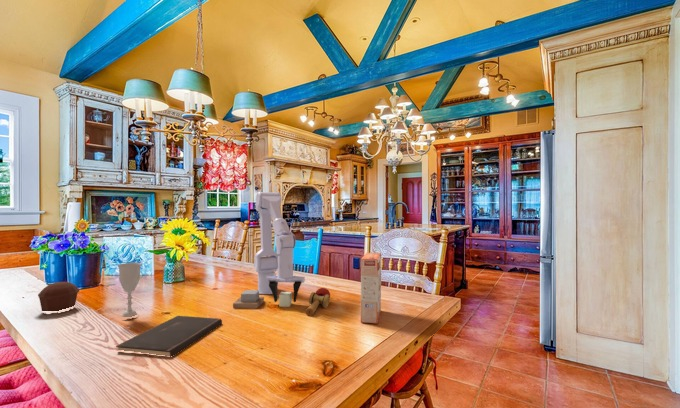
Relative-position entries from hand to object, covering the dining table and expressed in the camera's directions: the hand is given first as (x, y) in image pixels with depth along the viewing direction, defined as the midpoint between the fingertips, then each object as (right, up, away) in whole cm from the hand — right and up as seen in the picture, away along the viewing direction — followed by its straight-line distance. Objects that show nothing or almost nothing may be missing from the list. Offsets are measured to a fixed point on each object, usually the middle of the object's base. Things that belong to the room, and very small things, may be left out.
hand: (285, 301), depth 120 cm
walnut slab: (-14, -2, 0) cm, 14 cm away
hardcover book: (-27, -2, -29) cm, 40 cm away
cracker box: (+32, -2, -13) cm, 34 cm away
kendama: (+13, -2, -4) cm, 13 cm away
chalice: (-50, -2, -14) cm, 52 cm away
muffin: (-81, -2, -6) cm, 81 cm away
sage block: (0, -2, 0) cm, 2 cm away
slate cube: (-14, 0, 0) cm, 14 cm away
